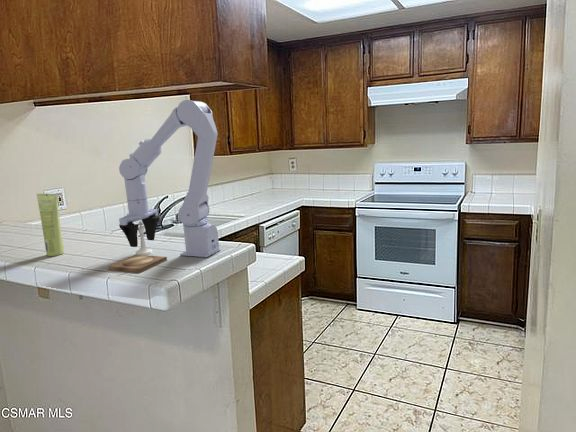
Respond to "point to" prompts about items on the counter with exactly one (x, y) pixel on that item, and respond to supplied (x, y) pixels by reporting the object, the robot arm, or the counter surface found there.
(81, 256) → the counter surface
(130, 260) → the pedestal
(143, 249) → the chess piece
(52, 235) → the tube
